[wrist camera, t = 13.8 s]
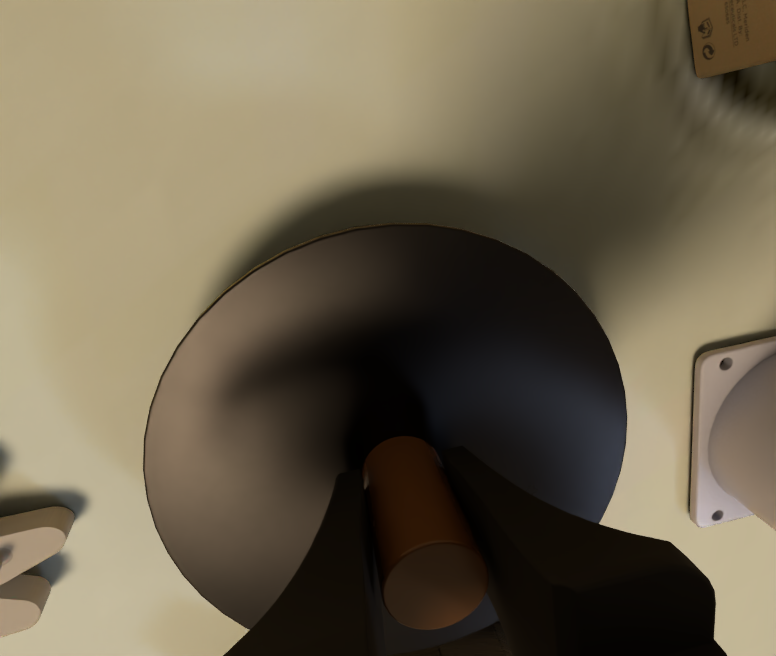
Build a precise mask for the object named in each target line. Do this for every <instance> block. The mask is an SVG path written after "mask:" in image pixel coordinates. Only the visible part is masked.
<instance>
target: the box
mask: <svg viewBox="0 0 776 656" xmlns="http://www.w3.org/2000/svg"><path fill="white" fill-rule="evenodd" d="M687 2H688V12H689V21H690V30H691V37H692V46H693V54H694V62H695V69H696V74H697V77H698V78H707V77H711V76H715V75H719V74H723V73H727V72H731V71H735V70H739V69H743V68H747V67H752V66H756V65H760V64H764V63H768V62H772V61H776V0H687Z"/></svg>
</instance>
